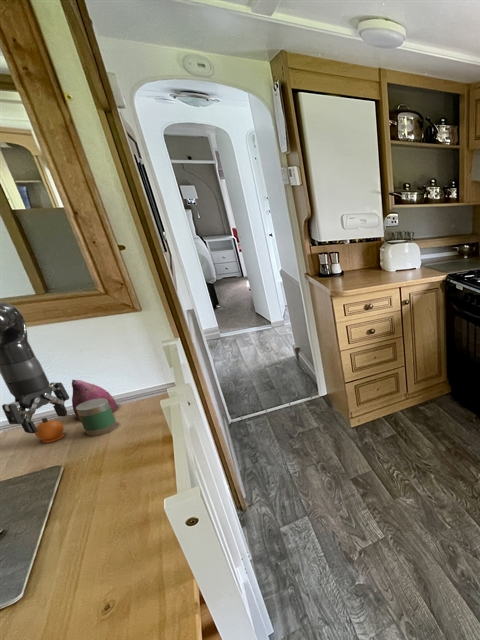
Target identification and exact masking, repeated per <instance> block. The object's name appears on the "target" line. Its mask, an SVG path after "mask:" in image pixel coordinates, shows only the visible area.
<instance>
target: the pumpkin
mask: <svg viewBox="0 0 480 640" xmlns="http://www.w3.org/2000/svg"><path fill="white" fill-rule="evenodd" d="M41 421H42V422H40V423H38V424H37V425H35V427H36V429H37V432H36V433H34V435H35V437H36V438H37V439H40V440H41V441H42V443H44V444H45V443H53V442H56V441H58V440H60V439H62V438H64V436H65V435H64V430H65V428H64V425H63V424H62V422H60V421H58V420H54V419H48V418H47V417H42V418H41Z"/></svg>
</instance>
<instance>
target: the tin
mask: <svg viewBox="0 0 480 640" xmlns="http://www.w3.org/2000/svg"><path fill="white" fill-rule="evenodd" d="M76 410H77V413H78V416H79V418H80V420H79V421H80V423H81V425H82V427H83V430H84V431H85V433H86V435H87V436H89V437H95V436H101V435H105V434H107V433H109V432H111V431H114V430H115V429H116V428H117V426H118V424H117V421H116V418H115V415H114V412H112V410H111V407H110V405H109V403H108V401H107V399H104V398H99V399H93V400H89V401H86V402H83V403H81V404H79V405H78V406H77V407H76Z"/></svg>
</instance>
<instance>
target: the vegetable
mask: <svg viewBox="0 0 480 640" xmlns="http://www.w3.org/2000/svg"><path fill="white" fill-rule="evenodd" d="M71 387H72V396H71V404H72V410H73V413H74V415H75V417H76V419H77V420H79V421H80V418H79V416H78V413H77V410H76V407H77V406H78V405H79V404H81V403H83V402H86V401H89V400H93V399H99V398H104V399H107V401H108V403H109V405H110V407H111V410H112V412H113V413H114V412H115V411H116V410H118V404H117V401H116V399H115V398H114V397H113V396H112V394H110V393H109V391H107V390H106V389H104V388H103V387H101V386H99V385H97V384H93V383H90V382H86V381H83V380H80V379H71Z"/></svg>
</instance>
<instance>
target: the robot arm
mask: <svg viewBox="0 0 480 640" xmlns="http://www.w3.org/2000/svg"><path fill="white" fill-rule="evenodd" d="M0 376H1V377H2V380H3V381H4V384H5V385H6V387H7V389H8V391H9V393H10V394H11V395H12V396H13V398H14V401H12V402H10V403H4V404H2V405H1V408H2V410H3V412H4V415H5V417H6V419H7V422H8V424H9V425H21V428H22V429H23V431H24V432H25V433H27V434H35V433H36V432H37V429H36V425H35V423H34V421H33V420H32V419H33V415H35V413H36V411H37V410H38V409H40V408H41V407H43V406H47V405H48V404H51V405H53V406H52V408H53V409H54V411H55V414H56V415H57V416H58V417H61V418H63V417H66V416H68V410H67V408H66V406H65V402H66V401H68V400H70V396H69V394H68V392H67V390H66V388H65V386H64V384H63V383H62V382H50V381H49V379H48V376H47V375H46V373H45V371H44V368H43V366H42V364H41V362H40V361H39V359H38V358H37V356H36V355H35V352H34V350H33V348H32V346H31V344H30V342H29V338H28V330H27V324H26V320H25V317H24V315H23V313H22V312H21V311H20V310H19V309H18V308H17V306H15V305H13V304H11V303H8V302H4V301H0ZM52 393H53V394H54V395H53V394H52Z"/></svg>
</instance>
